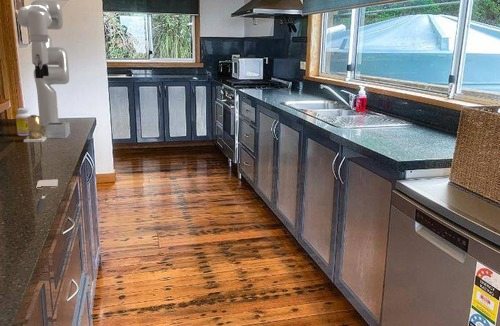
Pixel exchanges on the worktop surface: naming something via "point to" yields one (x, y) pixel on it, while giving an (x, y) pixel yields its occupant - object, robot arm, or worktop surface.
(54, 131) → the housing
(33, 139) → the tile
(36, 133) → the tan capped cylinder
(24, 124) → the supplement bottle
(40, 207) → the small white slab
